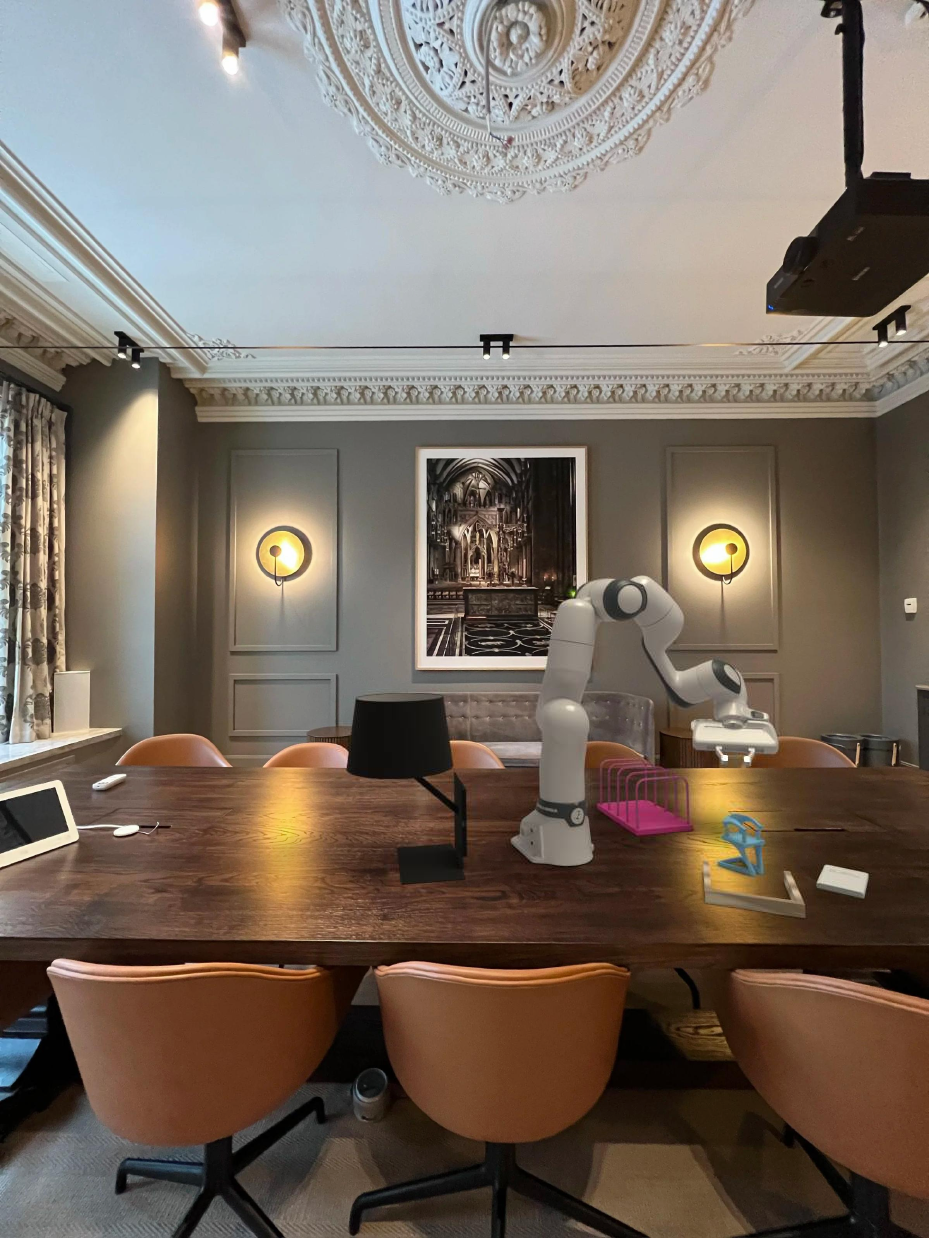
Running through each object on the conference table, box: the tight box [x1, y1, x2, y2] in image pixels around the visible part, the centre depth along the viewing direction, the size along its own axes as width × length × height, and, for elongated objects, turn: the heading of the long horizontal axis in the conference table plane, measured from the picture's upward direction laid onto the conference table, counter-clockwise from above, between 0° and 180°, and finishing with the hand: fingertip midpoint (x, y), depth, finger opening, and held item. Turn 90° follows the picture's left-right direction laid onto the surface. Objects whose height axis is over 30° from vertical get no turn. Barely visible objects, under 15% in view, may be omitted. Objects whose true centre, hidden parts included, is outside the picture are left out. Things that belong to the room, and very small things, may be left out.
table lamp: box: [345, 692, 468, 886], centre depth 133 cm, size 26×28×40 cm
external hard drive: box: [816, 864, 869, 900], centre depth 120 cm, size 2×8×12 cm
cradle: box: [702, 860, 806, 919], centre depth 115 cm, size 16×17×2 cm
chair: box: [717, 813, 766, 878], centre depth 128 cm, size 8×8×12 cm
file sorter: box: [596, 758, 694, 836], centre depth 164 cm, size 17×25×16 cm
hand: (736, 764), depth 140 cm, fingers open, 4 cm apart
